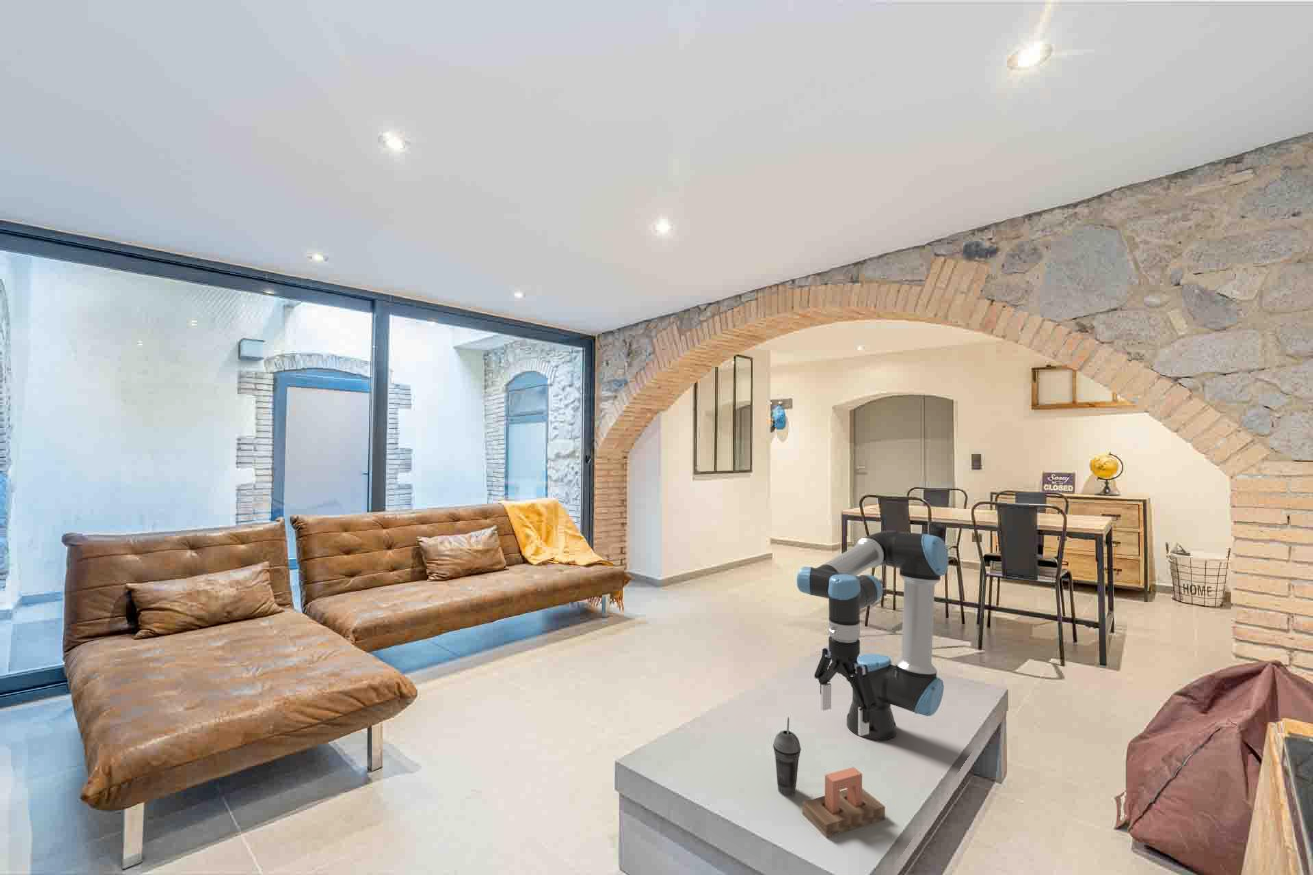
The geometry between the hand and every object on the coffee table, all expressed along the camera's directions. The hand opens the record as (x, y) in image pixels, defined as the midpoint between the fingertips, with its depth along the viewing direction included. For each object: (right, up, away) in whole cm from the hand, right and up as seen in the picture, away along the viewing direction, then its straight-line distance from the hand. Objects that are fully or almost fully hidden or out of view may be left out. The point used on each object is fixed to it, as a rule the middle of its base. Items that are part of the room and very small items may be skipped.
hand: (844, 721), depth 144 cm
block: (-1, -23, -2) cm, 23 cm away
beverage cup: (-13, -23, +8) cm, 27 cm away
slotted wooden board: (-1, -23, -2) cm, 23 cm away
